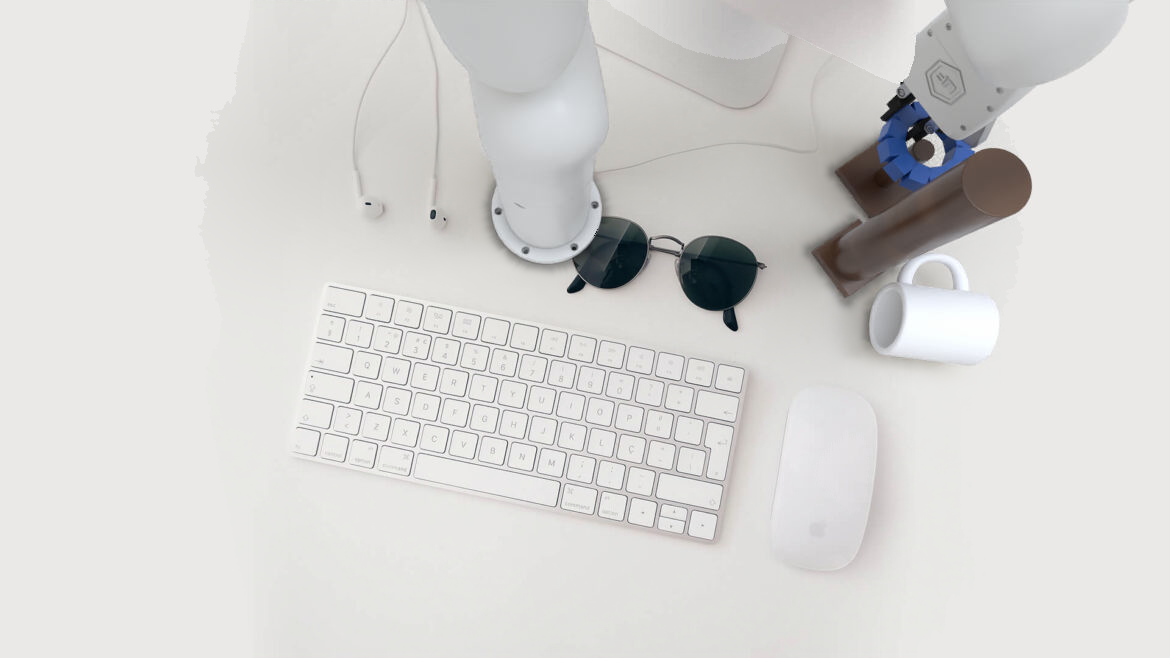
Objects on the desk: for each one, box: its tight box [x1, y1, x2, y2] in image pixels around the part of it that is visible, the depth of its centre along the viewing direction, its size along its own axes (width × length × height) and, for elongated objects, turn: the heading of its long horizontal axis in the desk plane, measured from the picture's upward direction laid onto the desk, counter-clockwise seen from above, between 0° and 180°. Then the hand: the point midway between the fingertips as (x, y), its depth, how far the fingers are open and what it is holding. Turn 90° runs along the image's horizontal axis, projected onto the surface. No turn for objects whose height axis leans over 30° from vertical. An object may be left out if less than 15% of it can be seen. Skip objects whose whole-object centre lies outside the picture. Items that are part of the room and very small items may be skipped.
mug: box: [868, 252, 1000, 367], centre depth 69 cm, size 12×10×8 cm
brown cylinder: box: [811, 147, 1033, 299], centre depth 61 cm, size 7×7×25 cm
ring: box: [877, 100, 976, 191], centre depth 65 cm, size 9×9×2 cm
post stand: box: [834, 138, 936, 219], centre depth 70 cm, size 8×8×9 cm
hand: (901, 123), depth 67 cm, fingers closed on ring, 2 cm apart
